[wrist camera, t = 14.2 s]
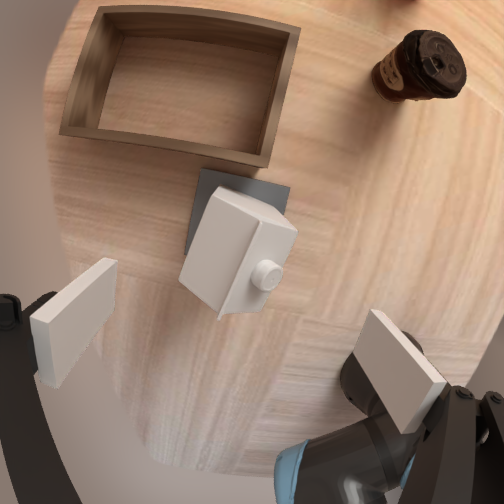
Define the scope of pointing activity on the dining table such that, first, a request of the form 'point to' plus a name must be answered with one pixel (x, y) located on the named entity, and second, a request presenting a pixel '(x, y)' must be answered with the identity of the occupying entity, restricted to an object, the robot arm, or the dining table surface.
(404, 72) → the coffee cup
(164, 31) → the crate
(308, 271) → the dining table surface
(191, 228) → the coaster
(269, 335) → the dining table surface
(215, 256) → the milk carton
